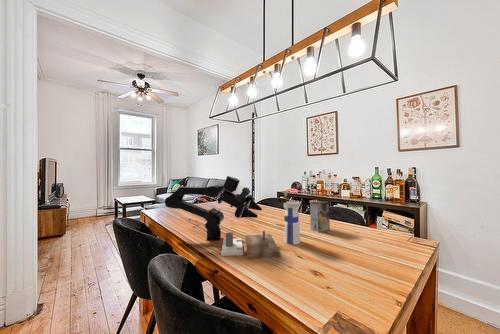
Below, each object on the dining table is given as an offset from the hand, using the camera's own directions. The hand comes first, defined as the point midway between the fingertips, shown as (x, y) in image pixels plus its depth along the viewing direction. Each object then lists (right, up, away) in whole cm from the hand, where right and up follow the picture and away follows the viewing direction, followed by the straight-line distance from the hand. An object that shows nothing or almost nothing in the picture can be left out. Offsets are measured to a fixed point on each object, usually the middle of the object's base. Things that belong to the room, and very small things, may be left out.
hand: (259, 212), depth 106 cm
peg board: (0, -14, -7) cm, 16 cm away
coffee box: (+36, -14, +17) cm, 42 cm away
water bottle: (+16, -14, -1) cm, 21 cm away
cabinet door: (-13, -14, -8) cm, 21 cm away
